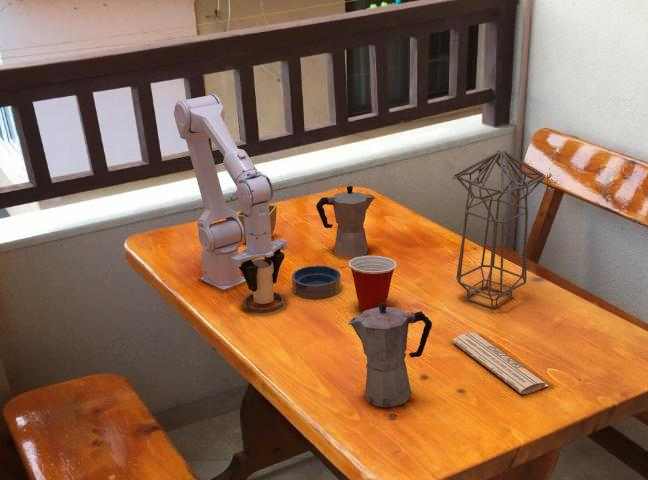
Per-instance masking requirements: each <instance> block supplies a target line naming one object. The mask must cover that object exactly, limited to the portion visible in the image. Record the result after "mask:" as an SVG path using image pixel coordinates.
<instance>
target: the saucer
mask: <svg viewBox="0 0 648 480" xmlns="http://www.w3.org/2000/svg"><path fill="white" fill-rule="evenodd" d="M274 298H277V299H278V300H280V302H279V303H278V304H276V305H273V306H270V307H254V306H250V305H249V304H248V302H249V301H250V300H253V292H251V293H250V294H248V295H246V296H245V297H244V298H243V300H242V302H243V304H242V305H243V308H244V309H245V310H246V311H248V312H250V313H254V314H270V313H274V312H276V311H279V310H280V309H282V308H283V307H284V305H285V298H284V296H283V294H281V293H279V292H275V291H274Z"/></svg>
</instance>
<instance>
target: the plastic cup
mask: <svg viewBox="0 0 648 480" xmlns="http://www.w3.org/2000/svg"><path fill="white" fill-rule="evenodd" d="M348 266H349V268H350V270H351V274H352V278H353V283H354V290H355V295H356V298H357V302H358V308H359V310H360V312H361V313H363V312H364V311H365V310H369V309H374V308H377V307H378V305H379V304H381V303H385V304H386V305H387V302H388V298H389V295H390V294H389V292H390V287H391V282H392V277H393V275H394V271H395V269H396V267H397V262H396V261H395V260H394V259H392V258H390V257H386V256H381V255H365V256H361V257H355V258H354V257H353V258H352V259H349V261H348Z"/></svg>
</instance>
